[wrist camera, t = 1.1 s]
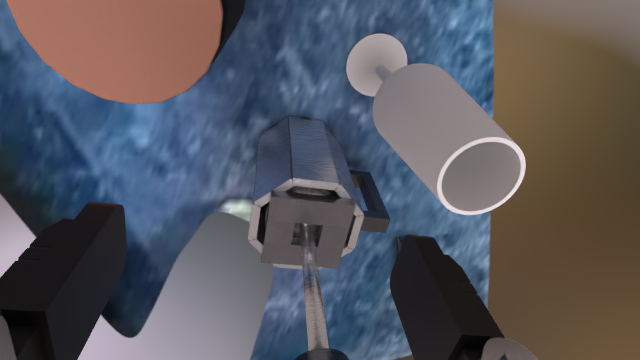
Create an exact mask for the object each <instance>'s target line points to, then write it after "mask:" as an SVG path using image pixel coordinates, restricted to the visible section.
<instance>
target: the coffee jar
mask: <svg viewBox="0 0 640 360" xmlns="http://www.w3.org/2000/svg"><path fill="white" fill-rule="evenodd" d="M6 1H7V4H8V6H9V8H10V10H11V12H12V15H13V17H14V19H15V21H16V23H17V26H18V28H19V30H20V32H21V33H22V35H23V36H24V37H25V38H26V40H27V41H28V42H29V43H30V45H31V46H32V47H33V48H34V50H35V51H36V52H37V53H38V55H39V56H40V57H41V59H42V60H43V61H44V62H45V63H46V64H48V65H49V66H50V67H51V68H53V69H54V70H55V71H56V72H58V73H59V74H60V75H61V76H63V77H64V78H65V79H66V80H68V81H69V82H70V83H71V84H73V85H75V86H77V87H79V88H82V89H84V90H86V91H88V92H90V93H92V94H94V95H96V96H99V97H101V98H103V99H108V100H113V101H118V102H123V103H129V104H144V103H154V102H163V101H165V100H168V99H170V98H172V97H174V96H177V95H179V94H181V93H183V92H186V91H188V90H189V89H190V88H191V87H192V86H193V85H194V84H195V83H196V82H197V81H198V80H199V79H200V78H201V77H202V76H203V75H204V74H205V73H206V72H207V71H208V69H209V67H210V65H211V64H212V63H213V62H214V61H215V59H216V57H217V56H218V54H219V53H220V51H221V49H222V48H223V46H224V45H225V43H226V41H227V40H228V38H229V37H230V35H231V34H232V32H233V30H234V29H235V27H236V25H237V23H238V21H239V19H240V17H241V15H242V13H243V10H244V2H245V0H6Z"/></svg>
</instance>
